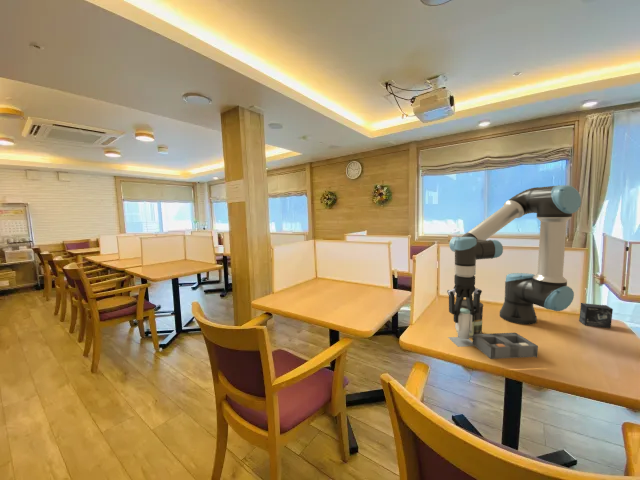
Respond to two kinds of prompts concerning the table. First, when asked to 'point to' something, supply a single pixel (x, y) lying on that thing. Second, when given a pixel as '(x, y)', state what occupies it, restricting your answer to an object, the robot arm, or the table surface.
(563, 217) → the robot arm
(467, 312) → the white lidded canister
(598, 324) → the box
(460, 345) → the mat
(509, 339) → the socket box
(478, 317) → the coffee can
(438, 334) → the table surface
